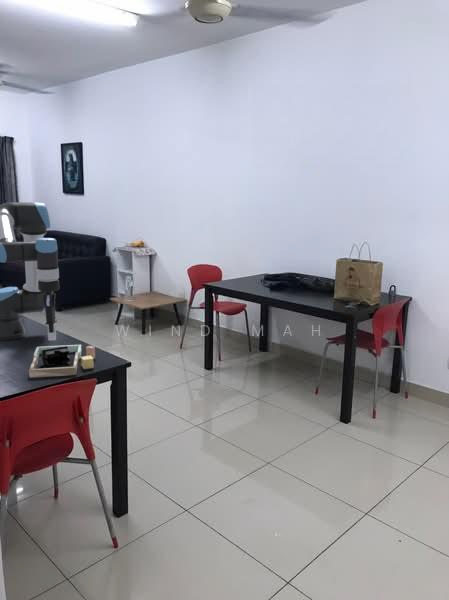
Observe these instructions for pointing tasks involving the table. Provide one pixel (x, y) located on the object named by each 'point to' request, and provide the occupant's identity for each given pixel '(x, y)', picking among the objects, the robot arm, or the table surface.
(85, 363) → the mustard block
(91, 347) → the pinkish brown cylinder
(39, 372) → the beige wooden tray
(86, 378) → the table surface
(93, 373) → the table surface
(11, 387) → the table surface
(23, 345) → the table surface
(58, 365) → the black lumpy piece
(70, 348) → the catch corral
